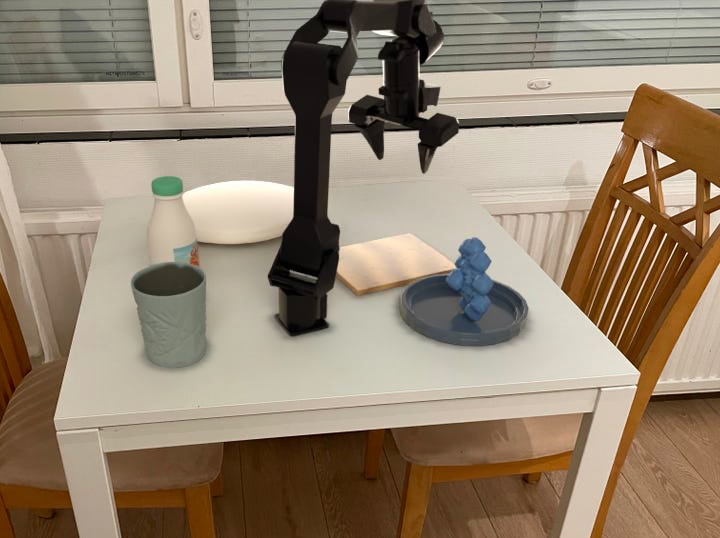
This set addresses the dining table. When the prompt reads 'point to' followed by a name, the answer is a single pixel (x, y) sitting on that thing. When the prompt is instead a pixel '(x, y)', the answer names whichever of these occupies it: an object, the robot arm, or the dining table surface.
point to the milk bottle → (171, 225)
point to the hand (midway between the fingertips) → (402, 165)
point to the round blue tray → (462, 313)
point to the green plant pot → (172, 312)
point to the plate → (240, 211)
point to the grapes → (472, 278)
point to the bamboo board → (389, 263)
